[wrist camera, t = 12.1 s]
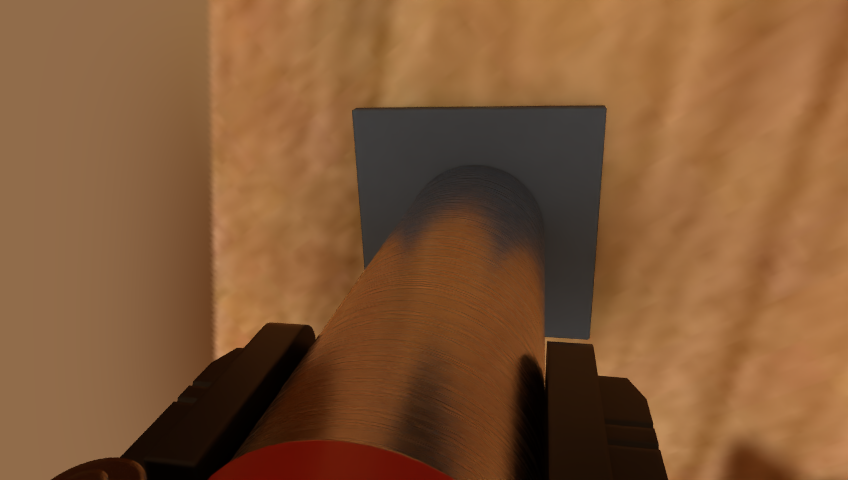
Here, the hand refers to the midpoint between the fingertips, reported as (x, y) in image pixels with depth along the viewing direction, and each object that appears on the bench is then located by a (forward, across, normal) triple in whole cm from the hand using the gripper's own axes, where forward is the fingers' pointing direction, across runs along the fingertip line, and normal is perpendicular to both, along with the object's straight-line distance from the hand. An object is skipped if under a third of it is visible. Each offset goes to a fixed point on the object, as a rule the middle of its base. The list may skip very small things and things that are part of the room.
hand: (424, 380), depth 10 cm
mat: (+8, 0, 0) cm, 8 cm away
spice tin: (+8, 0, 0) cm, 8 cm away
